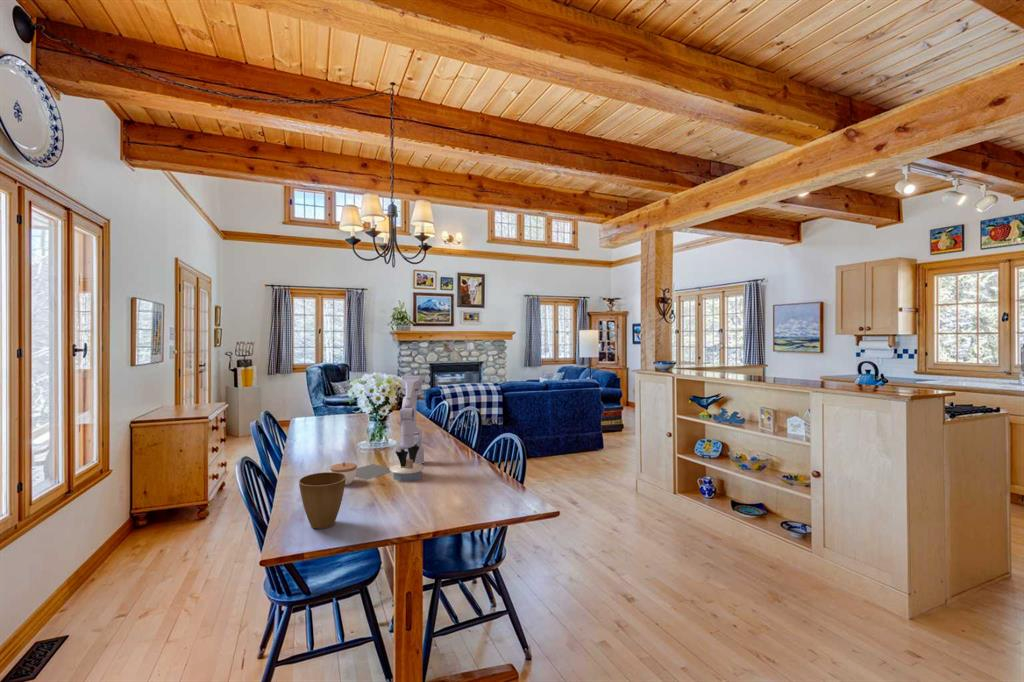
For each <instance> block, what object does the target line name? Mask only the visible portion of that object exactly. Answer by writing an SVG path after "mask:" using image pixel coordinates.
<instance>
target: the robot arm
mask: <svg viewBox="0 0 1024 682" xmlns="http://www.w3.org/2000/svg"><path fill="white" fill-rule="evenodd" d="M422 385H423V376H422V375H402V376H401V377H400V387H401V390H402V392H403V393H404V394H405V396H404V397H403V398H402V404H401V408H400V410H399V420H400V430H401V431H400V443H399V445H398V446H396V447H395V454H396V456H397V458H398V461H399V464H400V465H401V466H403V467H405V466H406V459H411V460H413V463H416V464H419V463H420V464H421V465H423V464H422V462H425V450H424V447H423V446H422V445H423V434H422V433H423V432H422V429H421V428H419V427H418V425H417V402H418V401H417V399H418V398H417V397H418V394H420V393H422V388H423V387H422Z"/></svg>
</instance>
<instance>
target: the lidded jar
mask: <svg viewBox="0 0 1024 682" xmlns="http://www.w3.org/2000/svg"><path fill="white" fill-rule="evenodd" d="M357 468H358V466H357V464H356V463H353V462H344V461H343V462H342V463H337V464H333V465H332V466H330V472H336V473H342V474H344V475H345V476H346V481H345V486H349V485H351V484H352V483H353V482H354V481H355V479H356V478H357V477H356V471H357Z"/></svg>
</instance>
